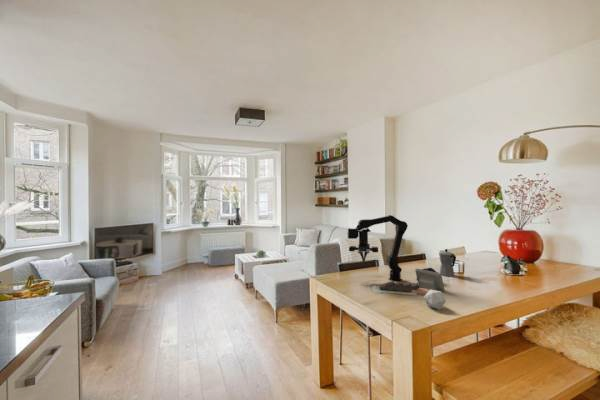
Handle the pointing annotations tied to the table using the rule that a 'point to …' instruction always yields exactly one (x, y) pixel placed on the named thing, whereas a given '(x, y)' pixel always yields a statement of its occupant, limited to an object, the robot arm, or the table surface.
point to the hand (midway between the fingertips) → (363, 261)
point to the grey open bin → (429, 270)
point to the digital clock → (429, 280)
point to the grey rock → (434, 299)
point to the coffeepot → (447, 263)
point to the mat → (391, 291)
